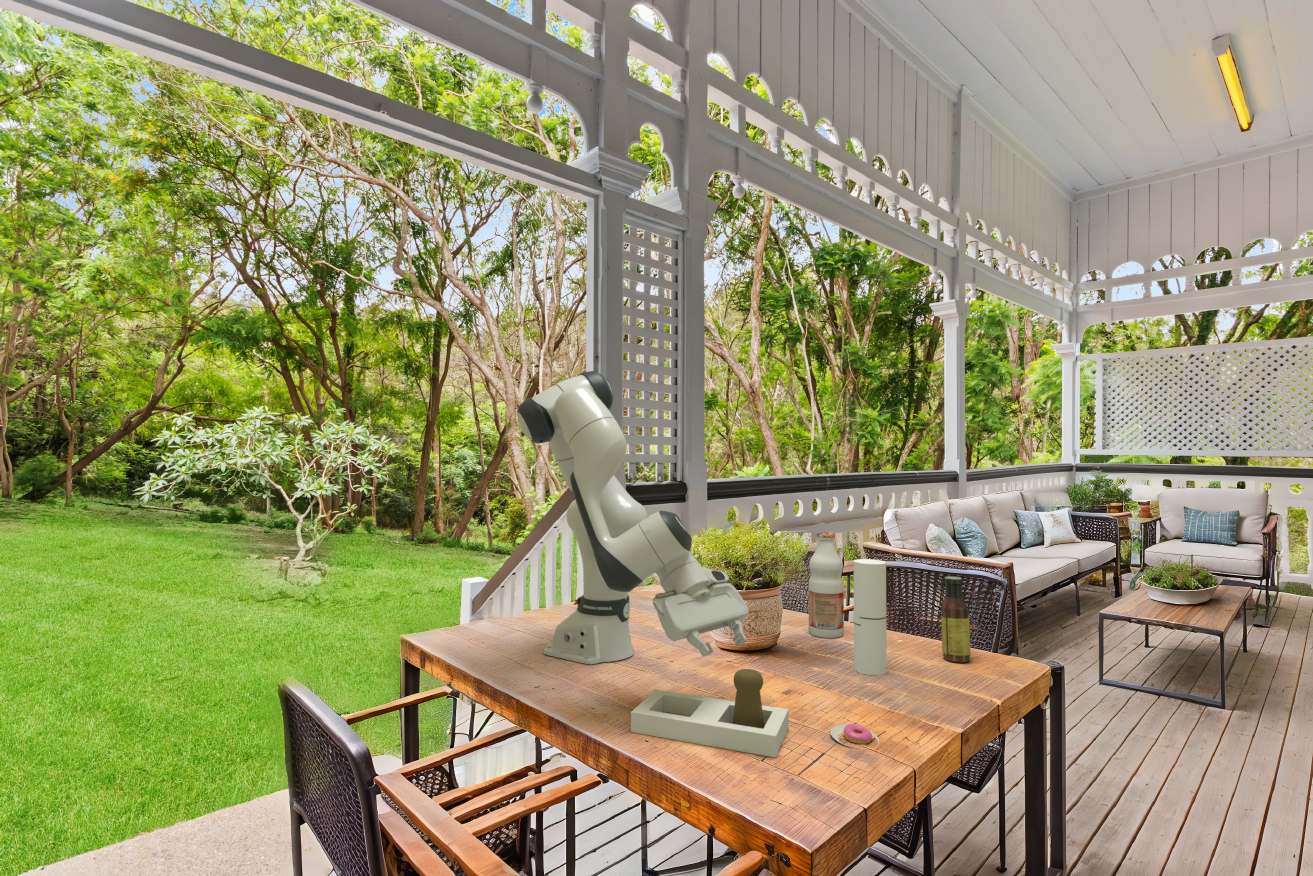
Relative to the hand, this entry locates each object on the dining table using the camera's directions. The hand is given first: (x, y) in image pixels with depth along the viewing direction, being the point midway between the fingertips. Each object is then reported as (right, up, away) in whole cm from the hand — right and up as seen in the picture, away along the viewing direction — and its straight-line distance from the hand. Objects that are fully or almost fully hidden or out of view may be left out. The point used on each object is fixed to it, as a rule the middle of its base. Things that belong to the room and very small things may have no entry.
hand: (725, 648), depth 120 cm
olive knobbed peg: (+3, -13, -6) cm, 15 cm away
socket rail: (-3, -13, -4) cm, 14 cm away
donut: (+21, -14, -6) cm, 26 cm away
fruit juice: (+34, -15, +59) cm, 70 cm away
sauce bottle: (+60, -15, +37) cm, 72 cm away
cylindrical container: (+36, -15, +29) cm, 49 cm away
